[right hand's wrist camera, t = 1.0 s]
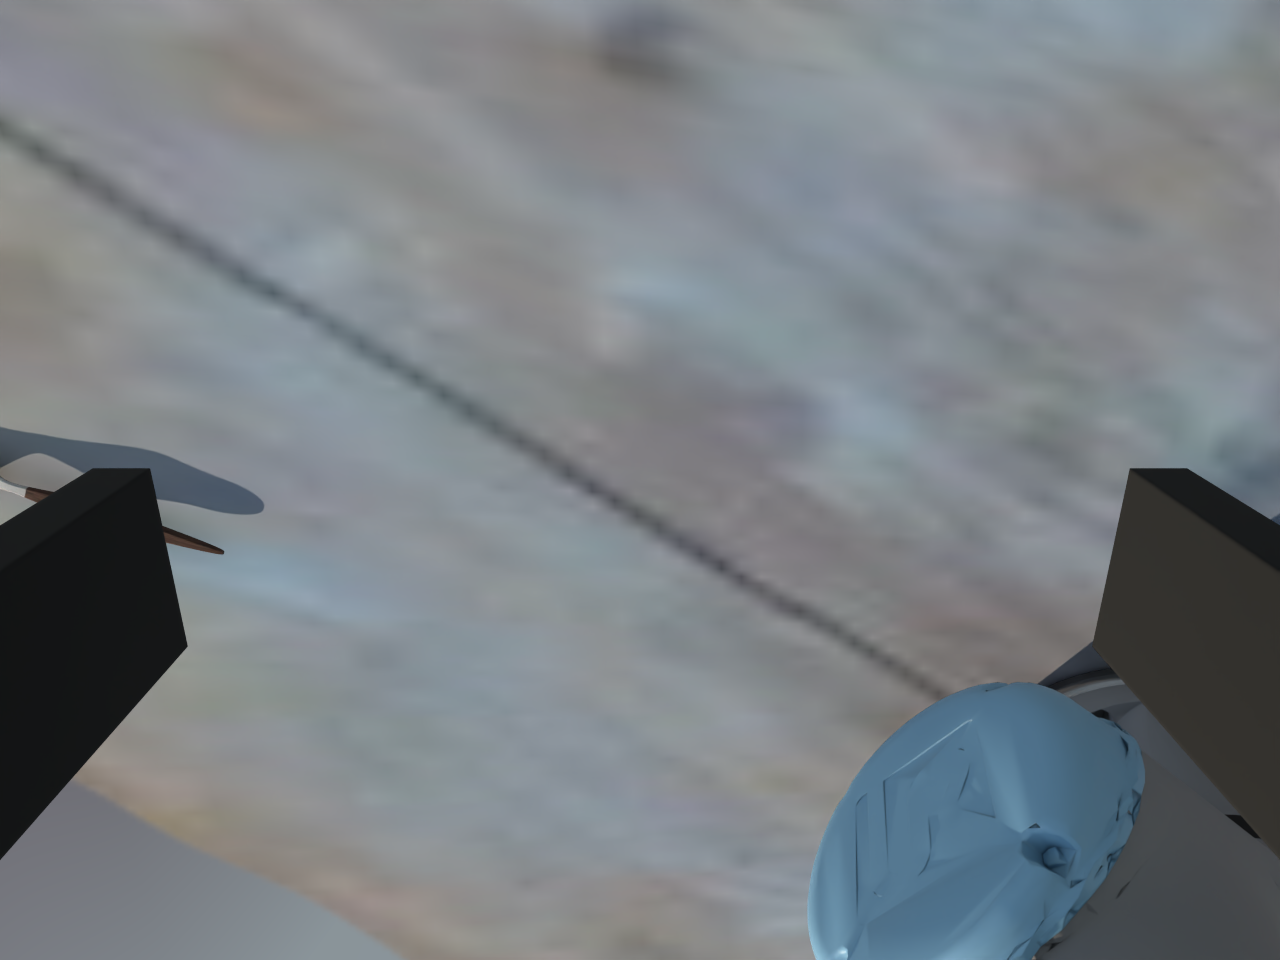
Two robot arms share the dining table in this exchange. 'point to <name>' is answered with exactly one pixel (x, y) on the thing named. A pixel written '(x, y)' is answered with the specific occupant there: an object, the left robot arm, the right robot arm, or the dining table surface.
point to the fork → (169, 534)
